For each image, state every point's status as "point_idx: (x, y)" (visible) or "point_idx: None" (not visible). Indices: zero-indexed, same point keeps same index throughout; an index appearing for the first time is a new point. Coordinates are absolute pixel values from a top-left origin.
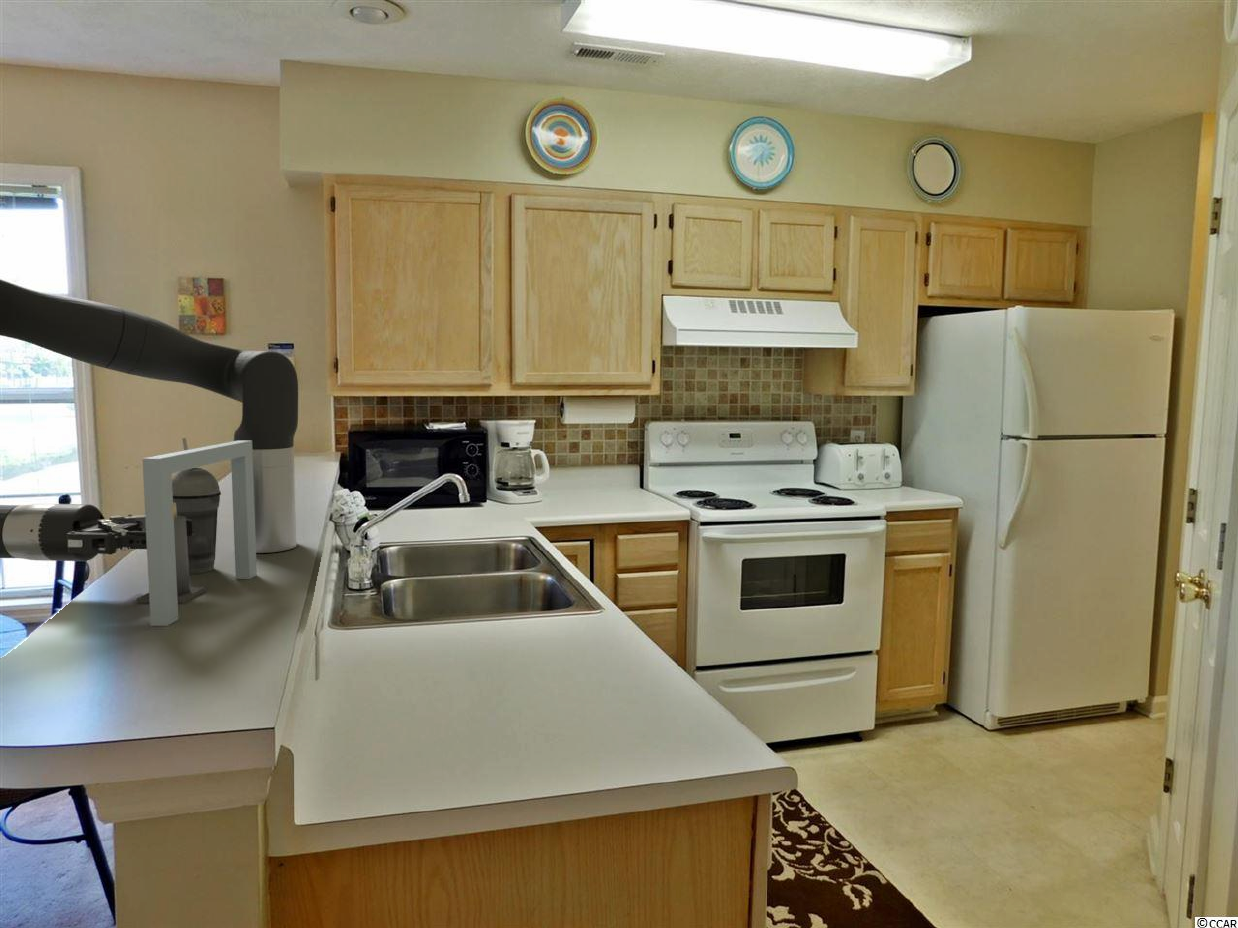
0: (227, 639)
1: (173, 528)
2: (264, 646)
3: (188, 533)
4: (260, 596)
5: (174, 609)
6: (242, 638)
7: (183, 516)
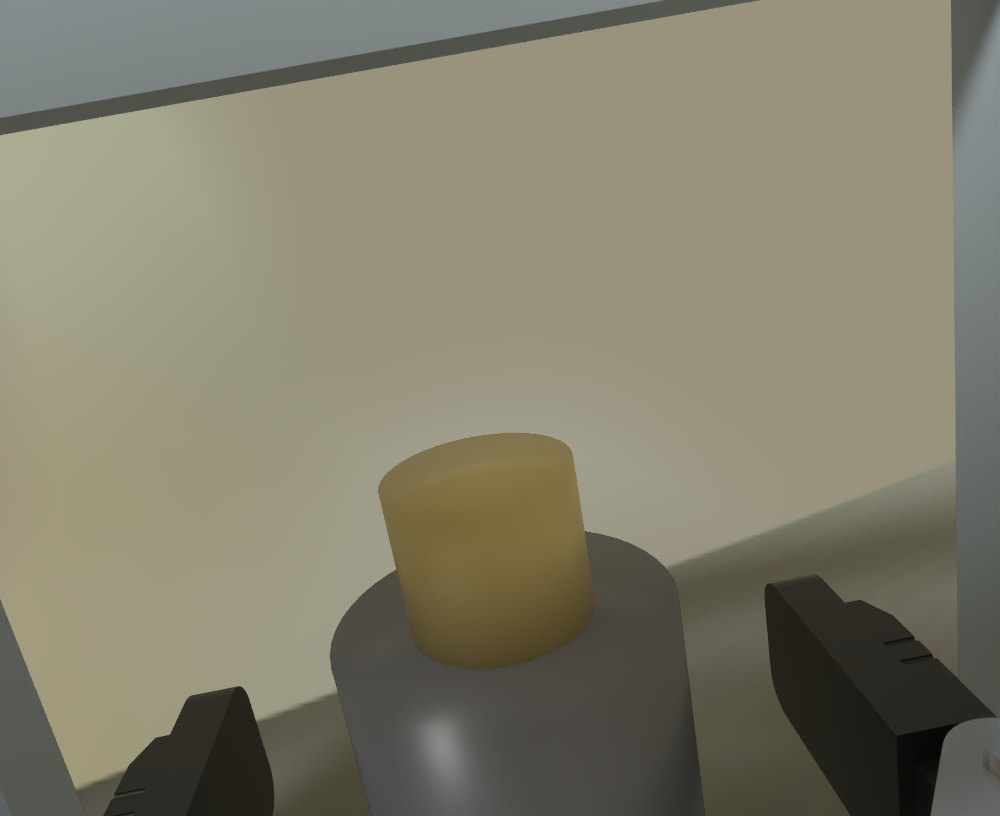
0: None
1: (961, 328)
2: None
3: (265, 799)
4: None
5: None
6: (956, 539)
7: (382, 582)
